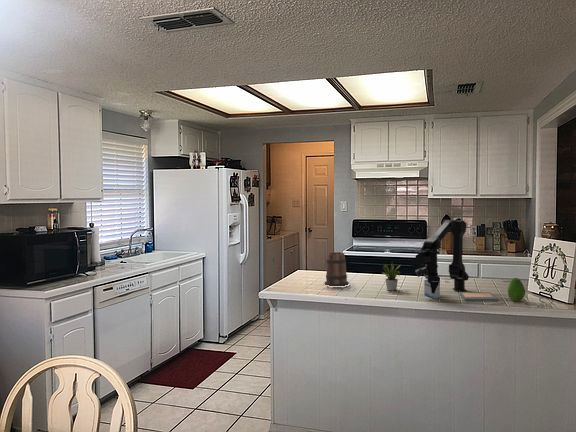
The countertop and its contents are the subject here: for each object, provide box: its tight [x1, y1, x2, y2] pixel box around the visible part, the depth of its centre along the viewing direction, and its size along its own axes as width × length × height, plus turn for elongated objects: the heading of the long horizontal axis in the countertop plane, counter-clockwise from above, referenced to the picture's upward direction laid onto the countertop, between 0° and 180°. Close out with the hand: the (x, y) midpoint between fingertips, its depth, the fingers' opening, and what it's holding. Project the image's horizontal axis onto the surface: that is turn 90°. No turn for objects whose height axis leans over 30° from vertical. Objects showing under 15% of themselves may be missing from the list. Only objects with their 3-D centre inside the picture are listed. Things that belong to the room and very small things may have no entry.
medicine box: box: [423, 279, 441, 299], centre depth 263 cm, size 8×4×9 cm, turn 23°
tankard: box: [323, 251, 350, 286], centre depth 304 cm, size 24×17×20 cm
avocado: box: [507, 277, 526, 302], centre depth 246 cm, size 8×8×12 cm
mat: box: [458, 291, 499, 302], centre depth 257 cm, size 16×16×1 cm
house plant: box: [378, 261, 401, 292], centre depth 282 cm, size 14×14×16 cm
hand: (432, 291), depth 263 cm, fingers open, 9 cm apart
